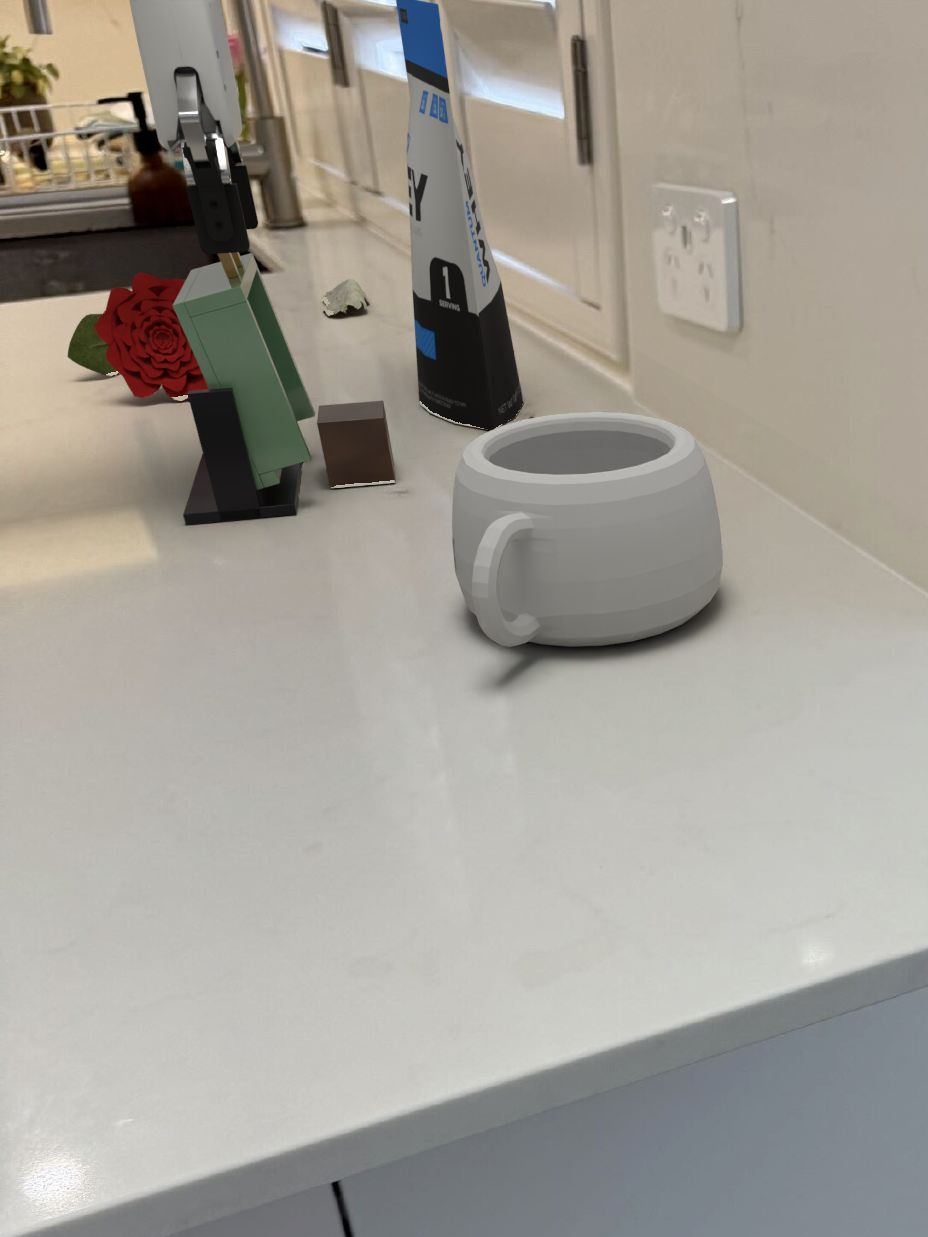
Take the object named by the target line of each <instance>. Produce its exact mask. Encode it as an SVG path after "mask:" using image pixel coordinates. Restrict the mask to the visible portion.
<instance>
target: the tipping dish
mask: <svg viewBox="0 0 928 1237" xmlns="http://www.w3.org/2000/svg"><path fill="white" fill-rule="evenodd" d="M217 256H218V259H219V262H218V261H217V262H215V263H211V264H207V265H204V266H201V267H200V266H199V267H197V268H193V269H190V272H189V274H188V275H187V277H186V279H185V280H184V281H185V283H184V285H183V287H182V288H181V290H180V292H179V294H178V296H177V298H176V300H175V302H174V304H173V308H174V310H175V312H176V315H177V317H178V319H179V321H180V324H181V326H182V328H183V330H184V333H185V335H186V337H187V340H188V342H189V344H190V346H191V349H192V351H193V353H194V356H195V358H196V360H197V362H198V365H199V367H200V369H201V371H202V374H203V376H204V378H205V381H206V383H207V385H208V387H209V389H221V388H233V392H234V396H235V401H236V405H237V409H238V413H239V417H240V421H241V426H242V430H243V434H244V438H245V442H246V446H247V450H248V455H249V459H250V463H251V467H252V471H253V475H254V480H255V484H256V488H257V490H259V489H263V488H264V487H265V488H266V487H269V486H273V485H276V484H279V483H280V477H281V470H282V468H284V467H288V466H291V465H295V464H298V463H302V462H303V463H305V462H308V461H311V458H312V454H311V452H310V450H309V447H308V445H307V442H306V440H305V438H304V435H303V433H302V429H301V428H300V425H299V423H298V422H300V421H303V420H307V419H310V418H315V416H316V411H315V409H314V406H313V403H312V401H311V398H310V396H309V394H308V391H307V389H306V386H305V383H304V380H303V378H302V375H301V372H300V371H299V368H298V365H297V363H296V361H295V358H294V356H293V353H292V350H291V347H290V345H289V342H288V340H287V338H286V334H285V332H284V330H283V327H282V325H281V322H280V320H279V318H278V315H277V312H276V310H275V307H274V305H273V302H272V300H271V297H270V295H269V292H268V289H267V287H266V285H265V282H264V279H263V277H262V274H261V272H260V269H259V267H258V264H257V262H256V259H255V256H254V254H253V253H252V252H251V253H246V254H244V255H241V254H240V252H236V253H220V254H217ZM303 463H302V464H303Z"/></svg>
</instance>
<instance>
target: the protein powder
mask: <svg viewBox="0 0 928 1237" xmlns="http://www.w3.org/2000/svg"><path fill="white" fill-rule="evenodd" d="M395 4H396V10H397V14H398V24H399V25H398V26H399V30H400V37H401V46H402V53H403V57H404V58H403V59H404V65H405V72H406V78H407V79H406V80H407V85H408V92H409V98H410V99H409V111H408V125H407V139H406V147H405V148H406V150H405V159H406V171H407V172H406V173H407V186H408V187H407V188H408V210H409V233H410V234H409V235H410V236H409V237H410V262H411V266H410V267H411V291H412V306H413V320H414V321H413V322H414V339H415V355H416V356H415V357H416V373H417V388H418V389H417V390H418V402H419V401H421V402H422V404H424V405H425V406H426V407H428V409H429V410H430V411H432V412H433V413H437V414H439V415H440V416H442V417H445V418H447V419H451V420H453V421H455V422H458V423H459V422H460V423H462V424H470V425H472V426H476V427H480V428H484V429H488V430H494V429H495V428H496V427H498V426H499V425H501V424H504V423H506V422H507V421H508V420H510V419H512V420H514V419H515V418H514V417H515V416H516V414H517V413H518V414H519V412H520V411H521V409H520V407H521V406H522V404H523V403H524V398H523V392H522V388H521V382H520V377H519V376H520V375H519V370H518V366H517V360H516V354H515V348H514V343H513V338H512V332H511V328H510V322H509V317H508V312H507V311H508V310H507V306H506V300H505V294H504V290H503V284H502V279H501V276H500V274H499V271H498V267H497V265H496V261H495V259H494V256H493V253H492V250H491V247H490V244H489V241H488V238H487V235H486V231H485V230H486V229H485V226H484V222H483V217H482V212H481V208H480V204H479V198H478V195H477V191H476V190H477V189H476V186H475V182H474V177H473V176H474V175H473V173H472V167H471V162H470V159H469V157H468V154H467V151H466V149H465V146H464V143H463V140H462V137H461V136H460V133H459V130H458V127H457V125H456V122H455V119H454V115H453V108H452V106H453V105H452V99H451V98H452V97H451V91H450V84H449V83H450V82H449V77H448V76H449V75H448V69H447V61H446V54H445V53H446V52H445V46H444V45H445V44H444V39H443V38H444V37H443V32H442V28H441V27H442V26H441V15H440V8H439V4H438V3H436V2H435V3H434V2H429V1H425V0H395ZM523 405H524V404H523ZM522 407H523V406H522ZM522 407H521V408H522ZM519 410H520V411H519ZM518 411H519V412H518ZM518 414H517V415H518ZM516 417H517V416H516ZM513 418H514V419H513ZM507 423H508V422H507ZM507 423H506V424H507ZM504 425H505V424H504ZM488 430H487V431H488Z"/></svg>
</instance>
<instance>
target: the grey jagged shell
mask: <svg viewBox="0 0 928 1237" xmlns="http://www.w3.org/2000/svg"><path fill="white" fill-rule="evenodd" d="M323 297H327V298H326V299H328V302H330V304H328V306H326V309H327V310H330V311H334V312H333V313H335V315H337V314H338V313H340V312H342V313H344V314H347V310H348V306H352V307H354V308H355V309H357V310H359V309H361V308H362V305H363V308H364V310H365V311H367V310H368V305H367V302H368V303H369V301H370V300H369V299H368V295H367V293H366V292H365V291H364V290H363V288H362V287H361V285H360V284H359V282H358V281H357V280H355V279H351V278H350V279H349V278H348V279H345V280H344V281H343V280H342V282H340V283H338V284H337V285H336V286H335V287H333V288H332V289H331V290H329V291H326V292H325V295H323V296H322V298H323ZM366 301H367V302H366Z"/></svg>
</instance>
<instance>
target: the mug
mask: <svg viewBox="0 0 928 1237" xmlns="http://www.w3.org/2000/svg"><path fill="white" fill-rule="evenodd" d="M458 462H459V463H458V465H457V467H456V471H455V477H454V483H453V491H452V505H451V506H452V507H451V530H452V532H451V533H452V534H451V535H452V536H451V537H452V540H451V541H452V551H453V561H454V562H453V563H454V573H455V576H456V579H457V582H458V585H459V588H460V591H461V594H462V597H463V598H464V601H465V604H466V608H467V609H468V610H469V611H470V612H471V613H472V614H474V615H475V617H476V619H477V622H478V625H479V627H480V629H481V630H482V632H483V633H484V634H485V635H486V637H488V639H491V640H492V641H493V642H495V643H497V644H498V645H500V646H502V647H508V648H510V647H515V646H516V647H517V646H520V645H524V644H526V643H527V642H530V643H534V644H539V645H548V646H559V647H597V646H601V647H602V646H609V645H615V644H616V645H617V644H623V643H629V642H630V643H631V642H635V641H638V640H642V639H647V638H650V637H654V636H657V635H658V636H659V635H661V634H663V633H666V632H667V631H670V630H674V629H675V628H677V627H679V626H682V625H683V624H685V623H686V622H688V621H689V620H690V619H692V618H693V617H695V616H696V615H697V614H698V613H700V611H702V609H704V608H705V607H707V605H708V604H709V603H710V602H711V601H712V599H713V598H714V597H715V595H716V593H717V592H718V590H719V589H720V583H721V577H722V571H723V565H724V559H723V558H724V557H723V556H724V555H723V554H724V553H723V552H724V551H723V541H722V531H721V522H720V516H719V509H718V503H717V498H716V493H715V488H714V484H713V483H714V482H713V480H712V476H711V473H710V469H709V466H708V463H707V461H706V456H705V454H704V452H703V451H702V449H701V447H700V445H699V444H698V442H697V441H696V439H695V437H694V436H693V435H692V434H691V433H690V431H688V430H687V429H685V428H683V427H681V426H679V425H677V424H674V423H673V422H671V421H670V422H669V421H667V420H663V419H660V418H656V417H652V416H648V415H641V414H634V413H627V412H608V411H587V412H585V411H584V412H583V411H581V412H568V413H557V414H548V415H542V416H536V417H535V418H531V419H529V418H525V419H521V420H518V421H514V422H511V423H506V424H504V425H502V426H501V427H498V428H496V429H494V430H491V431H487V432H485V433H482V434H481V435H479V436H477V437H476V438H474V439H473V440H472V441H471V442H470V443H468V444H467V445H466V446H465V448H464V450H463V452H462V454H461V457H460V460H459V461H458Z"/></svg>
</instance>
